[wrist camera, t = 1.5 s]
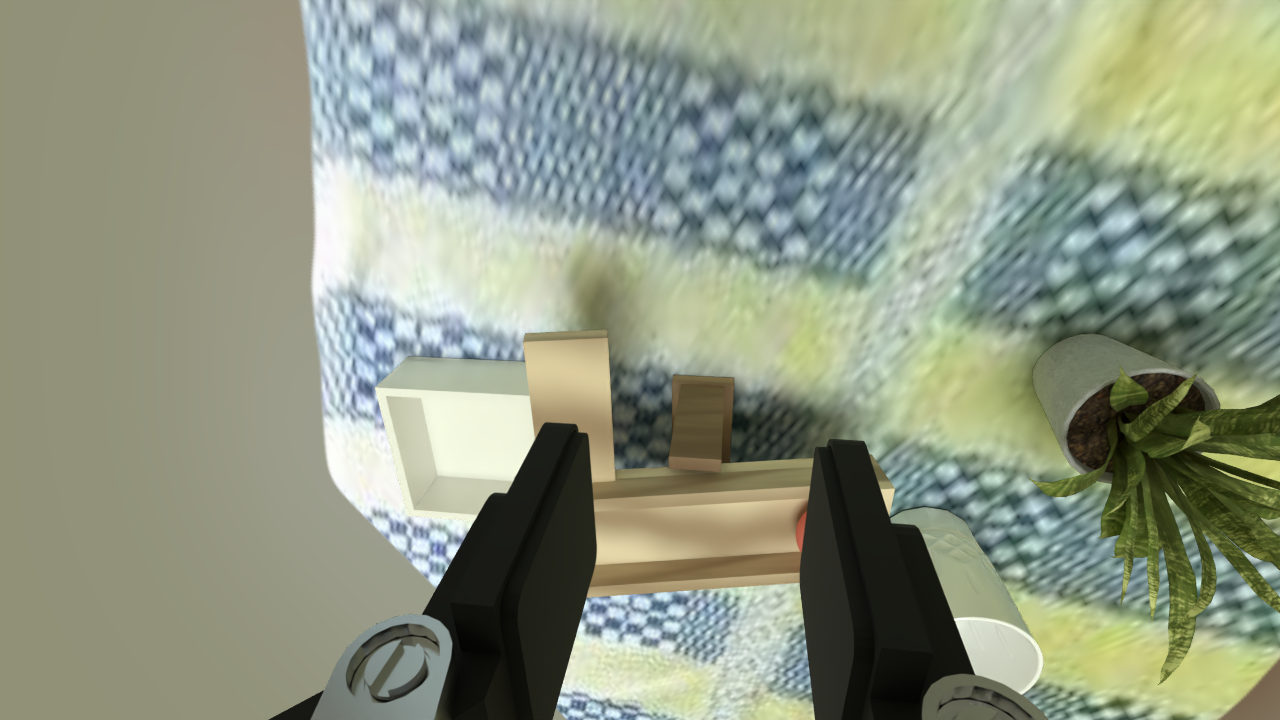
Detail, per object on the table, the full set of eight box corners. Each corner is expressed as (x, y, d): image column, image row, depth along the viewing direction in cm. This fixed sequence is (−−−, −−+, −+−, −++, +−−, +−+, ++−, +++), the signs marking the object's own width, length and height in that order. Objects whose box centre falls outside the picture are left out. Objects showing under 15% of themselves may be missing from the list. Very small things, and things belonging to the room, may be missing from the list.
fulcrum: (673, 374, 40) (657, 454, 32) (734, 377, 40) (732, 459, 32) (673, 489, 45) (659, 583, 37) (727, 493, 44) (725, 589, 36)
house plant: (1162, 494, 39) (1407, 751, 25) (937, 475, 41) (1044, 705, 27) (1264, 285, 33) (1676, 470, 18) (992, 274, 35) (1173, 433, 20)
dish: (408, 356, 43) (374, 387, 39) (576, 364, 41) (559, 397, 37) (435, 476, 48) (407, 515, 44) (586, 488, 46) (572, 529, 42)
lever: (498, 323, 31) (483, 362, 27) (885, 305, 32) (926, 340, 28) (530, 554, 38) (523, 611, 34) (846, 533, 39) (874, 587, 35)
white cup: (876, 589, 46) (908, 715, 38) (853, 511, 43) (882, 628, 35) (988, 573, 44) (1050, 703, 35) (972, 489, 41) (1035, 608, 32)
